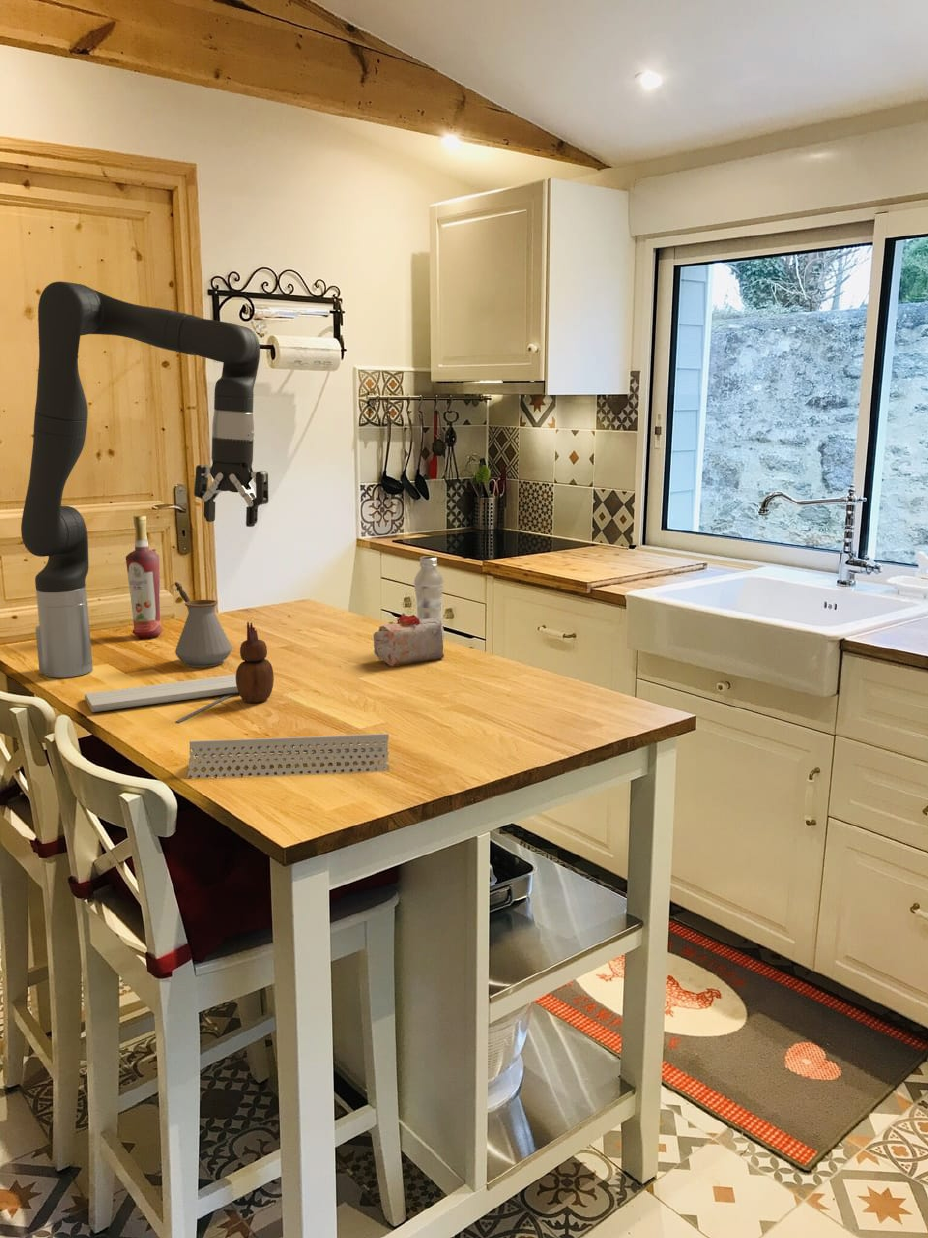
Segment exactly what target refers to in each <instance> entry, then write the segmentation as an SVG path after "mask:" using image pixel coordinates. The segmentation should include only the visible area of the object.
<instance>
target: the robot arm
mask: <svg viewBox="0 0 928 1238" xmlns="http://www.w3.org/2000/svg"><path fill="white" fill-rule="evenodd" d="M37 323H38V324H37V325H38V326H37V327H38V349H39V350H38V354H39V355H38V367H37V368H38V371H37V383H36V384H37V385H36V386H37V387H36V400H35V406H34V416H33V417H34V420H33V435H32V436H33V439H32V449H31V452H32V453H31V460H30V469H29V470H30V471H29V479H28V486H27V492H26V497H25V501H24V506H23V511H22V517H21V522H20V523H21V524H20V529H21V530H20V534H21V539H22V543H23V545H24V546H25V548H26V550H27V551H28V552H29V553H31V555H33V556H36V557H42V558H43V557H45V558H46V557H48V560H47V562H46V565H45V566H44V567H43V568H42V570H40V571H39V572H38V573H37V574H36V575H35V578H34V585H35V595H36V606H37V613H38V614H37V616H38V625H39V626H36V627H35V629H34V630H35V638H36V649H37V659H38V669H39V670H38V671H39V674H40V675H44V676H46V677H49V678H73V677H78V676H83V675H86V674H90V673H91V672H92V671H93V670H94V669H93V668H94V667H93V658H92V657H93V655H92V643H91V631H90V630H91V629H90V619H89V609H88V608H89V607H88V600H87V599H88V597H87V587H86V585H87V584H86V583H87V582H86V577H87V576H88V572H89V541H88V529H87V525H86V522H85V519H84V517H83V515H82V513H80V511H79V510H78V509H76V508H74V507H73V506H69V505H62V499H63V492H64V487H65V485H66V483H67V480H68V478H69V476H70V474H71V473H72V471H73V469H74V467H75V465H76V464H77V462H78V460H79V458H80V457H81V454H82V452H83V449H84V447H85V443H86V438H87V428H88V417H89V416H88V411H89V409H88V403H87V398H86V395H85V390H84V387H83V384H82V380H81V377H80V373H79V361H78V360H79V350H80V341H81V336H87V335H103V336H104V335H105V336H106V335H108V336H117V337H124V338H128V339H132V340H135V341H138V342H141V343H144V344H147V345H149V346H153V347H156V348H160V349H163V350H166V351H170V352H175V353H180V354H185V355H190V356H191V355H193V356H199V357H202V358H205V359H209V360H212V361H216V362H219V363H223V364H222V370H221V371H222V372H221V377H220V378H219V379H218V380H217V381H216V382H215V386H214V397H213V399H214V400H213V402H214V403H213V404H214V405H213V417H212V425H211V454H210V455H211V462H212V463H211V464H212V465H211V466H208V465H207V464H203V465H201V464H198V465H197V466H196V468H195V480H194V491H193V495H194V496H195V498H199V499H202V501H203V518H204V519H205V522H207V523H211V522H215V519H216V501H215V500H216V498H217V497H218V496H219V494H220V493H222V492H230V493H238V494H239V495H240V496H241V497H242V498H243V499H244V500H245V503H246V504H247V506H246V515H245V526H246V527H248V528H253V527H255V525H256V524H257V523H258V517H259V516H258V515H259V514H258V513H259V512H258V511H259V506H261V505H266V504H268V503H269V474H268V473H269V472H267V471H263V470H262V471H254V470H253V461H254V438H255V422H254V413H253V412H254V388H255V384H256V380H257V375H258V370H259V365H260V360H261V359H260V357H261V347H260V346H261V345H260V341H259V338H258V336H257V334H256V332H255V331H253V330H252V329H250V328H249V327H247V326H243V325H239V324H236V323H231V322H226V321H225V322H224V321H220V320H213V319H205V318H202V317H200V316H197V315H194V314H193V315H192V314H189V313H184V312H179V311H175V310H170V309H165V308H158V307H152V306H145V305H139V304H134V303H131V302H127V301H123V300H120V299H117V298H115V297H112V296H111V295H108V294H104V293H102V292H100V291H99V290H95V289H94V288H91V287H89V286H87V285H84V284H82V283H76V282H75V283H73V282H67V281H62V280H59V281H53V282H51V283H49V284H48V285H47V286H45V287H44V289H43V290H42V292H41V294H40V297H39V300H38V306H37ZM210 476H211V477H212V479H213V481H211V483H210V485H209V486H208V484H209V483H208V481H209V477H210ZM251 481H253V482H254V483H255V488H254V487H253V486H252V484H251ZM254 489H255V490H254Z"/></svg>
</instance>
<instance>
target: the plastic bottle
mask: <svg viewBox="0 0 928 1238" xmlns="http://www.w3.org/2000/svg"><path fill="white" fill-rule="evenodd" d="M437 559H438V558H437V556H431V555H430V556H420V558H419V567H420V569H419V570H418V572H417V574H416V575H415V577H414V580H413V586H414V592H415V598H416V599H415V601H416V617H417V618H419V620H421V619H427V618H432V619H435V620H436V621H437V622H438V623H440V624H441V630H442V640H443V641H444V638H445V630H444V627H443V617H442V596H443V589H444V587H443V586H444V580H443V577H442V575H441V574H440V571H439V570H438V569H437V567H438V563H437V562H438V561H437Z"/></svg>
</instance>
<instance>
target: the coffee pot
mask: <svg viewBox="0 0 928 1238" xmlns="http://www.w3.org/2000/svg"><path fill="white" fill-rule="evenodd" d="M173 586H175V588H176V591H177V592H179V595H180V597H181V598H182V600H183V601H184V606H185V607H186V608H187V611H188V615H187V616H186V620H185V623H184V626H183V629H182V631H181V634H180V637H179V639H178V642H177V644H176V648H175V650H174V653H175V655H176V657H177V658H178V659H179V660H180V661H181V662H182V663H184V664H185V666H186V667H191V668H209V667H214V666H218V665H222V664H223V663H224V660H226V659H227V658H228V657H230V655H231V652H232V649H233V647H232V643H230V641H229V638H228V637H227V634H226V632H225V630H224V628H223V626H222V625H221V622H220V620H219V619H218V617H217V614H216V613H215V609H216V606H217V604H218V600H214V599H196V600H195V599H194V600H190V597H189V595H188V594H187V592H186V591H185V590H184V589H183V587H182V584H181V583H179V582H177V581H176V582H174V583H173V584H172V585H171V586H170V588H171V590H173V591H175V589H174V588H172V587H173Z"/></svg>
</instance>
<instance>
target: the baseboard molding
mask: <svg viewBox="0 0 928 1238" xmlns="http://www.w3.org/2000/svg"><path fill="white" fill-rule="evenodd" d="M231 693H237V694H239V692H238V689H237V685H236V673H235V674H229V675H222V676H213V677H205V678H197V679H190V680H189V679H188V680H183V681H182V680H180V681H175V682H173V681H172V682H167V683H166V682H165V683H158V684H157V683H156V684H150V685H142V686H135V687H128V688H121V689H120V688H118V689H112V690H104V691H95V692H88V693H84V701H85V702H86V704H87V706H88V707H89V710H90V711H91V713H97V712H106V711H111V710H119V709H127V708H128V709H129V708H134V707H142V706H150V705H156V704H164V703H171V702H177V701H186V700H193V699H200V698H201V699H202V698H207V697H213V696H222V695H228V694H231Z"/></svg>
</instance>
